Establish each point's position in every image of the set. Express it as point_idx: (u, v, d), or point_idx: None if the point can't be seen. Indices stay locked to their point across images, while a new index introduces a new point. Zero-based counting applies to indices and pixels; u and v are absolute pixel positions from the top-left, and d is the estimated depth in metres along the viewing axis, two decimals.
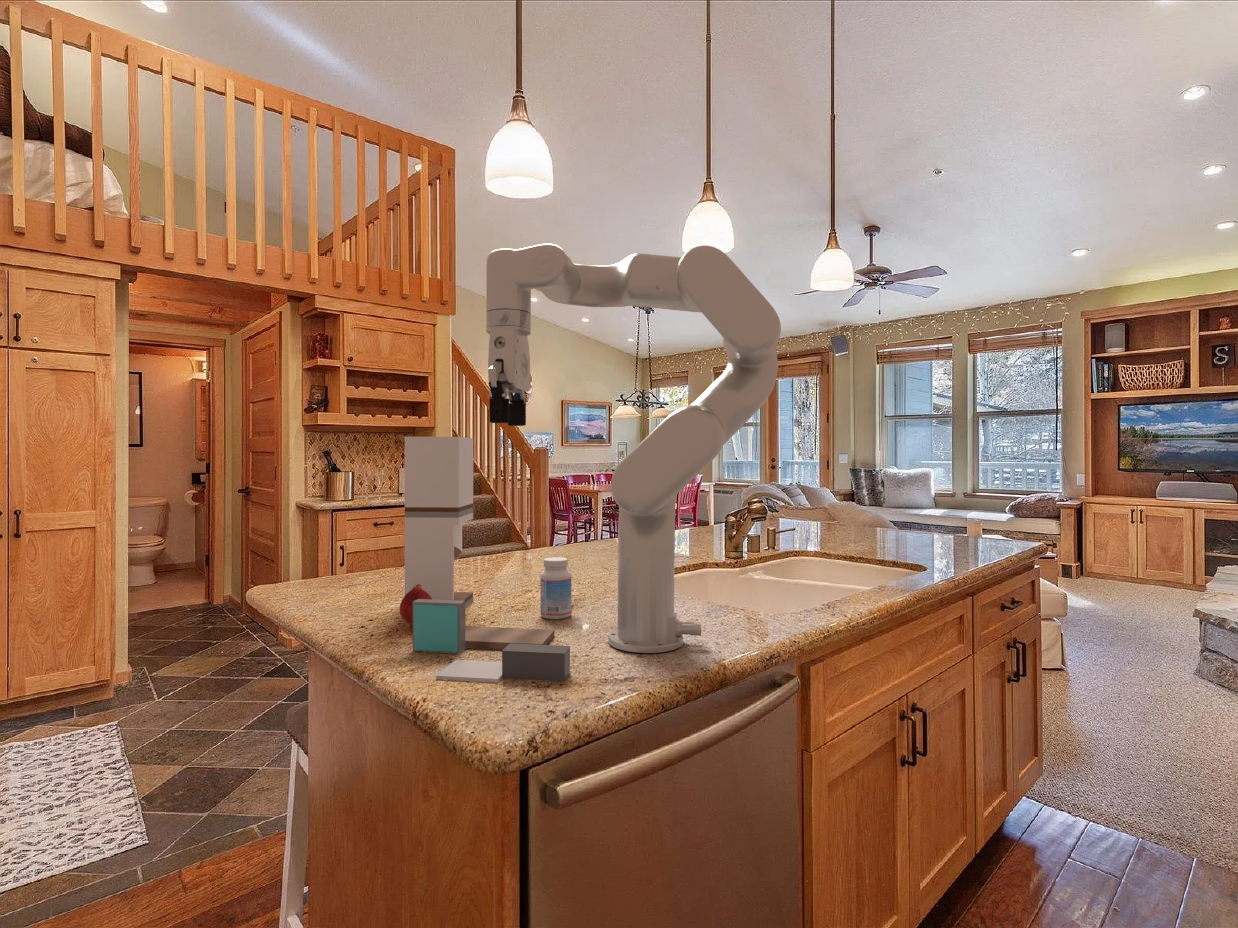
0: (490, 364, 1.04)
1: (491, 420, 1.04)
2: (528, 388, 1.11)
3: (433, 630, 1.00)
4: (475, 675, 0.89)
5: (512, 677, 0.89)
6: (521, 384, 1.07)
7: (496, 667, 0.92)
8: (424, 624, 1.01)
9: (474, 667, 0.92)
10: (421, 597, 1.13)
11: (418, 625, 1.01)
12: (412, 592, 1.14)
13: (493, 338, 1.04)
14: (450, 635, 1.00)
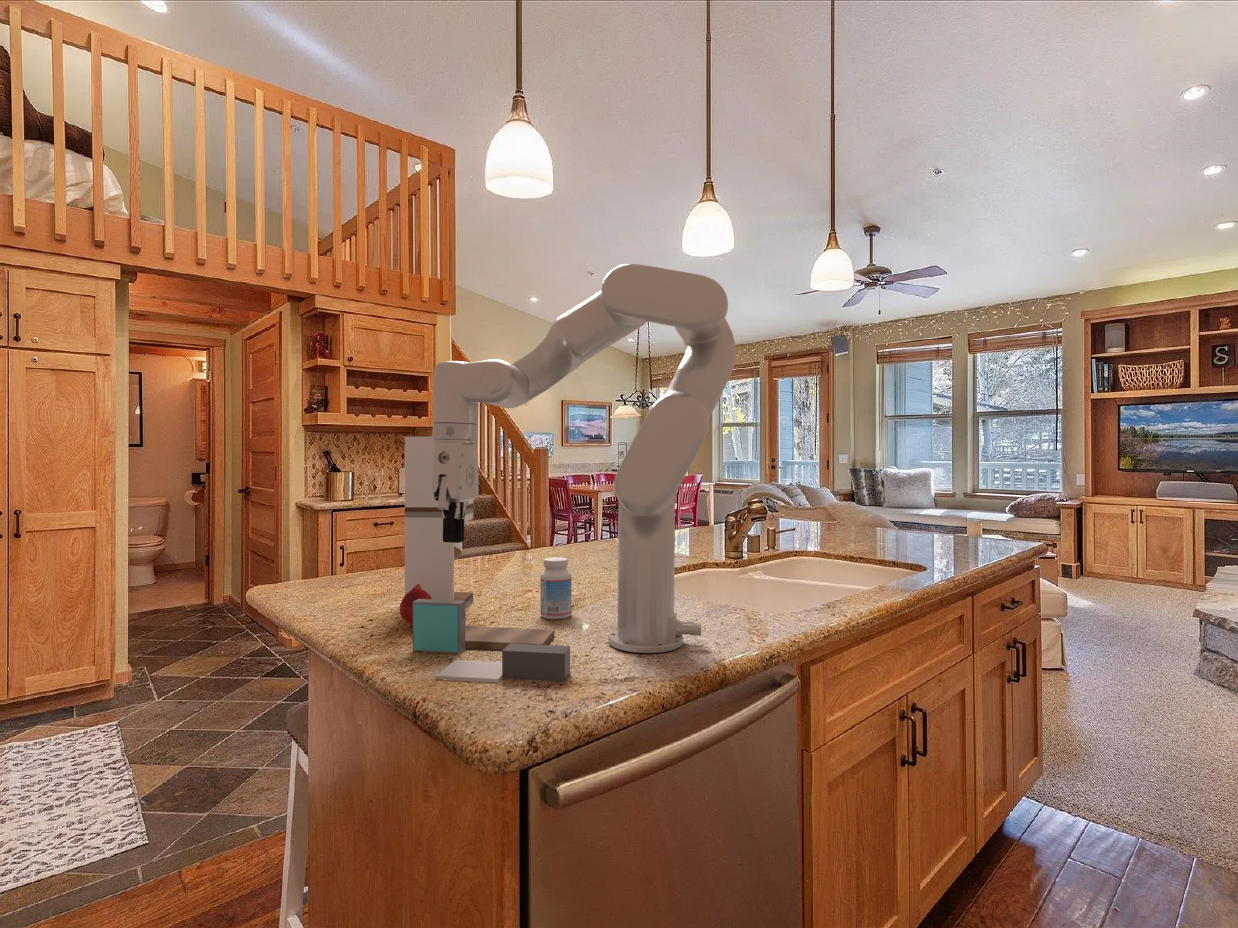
0: (434, 479, 1.04)
1: (444, 539, 1.08)
2: (475, 496, 1.11)
3: (433, 630, 1.00)
4: (475, 675, 0.89)
5: (512, 677, 0.89)
6: (466, 496, 1.06)
7: (496, 667, 0.92)
8: (424, 624, 1.01)
9: (474, 667, 0.92)
10: (421, 597, 1.13)
11: (418, 625, 1.01)
12: (412, 592, 1.14)
13: (437, 453, 1.04)
14: (450, 635, 1.00)
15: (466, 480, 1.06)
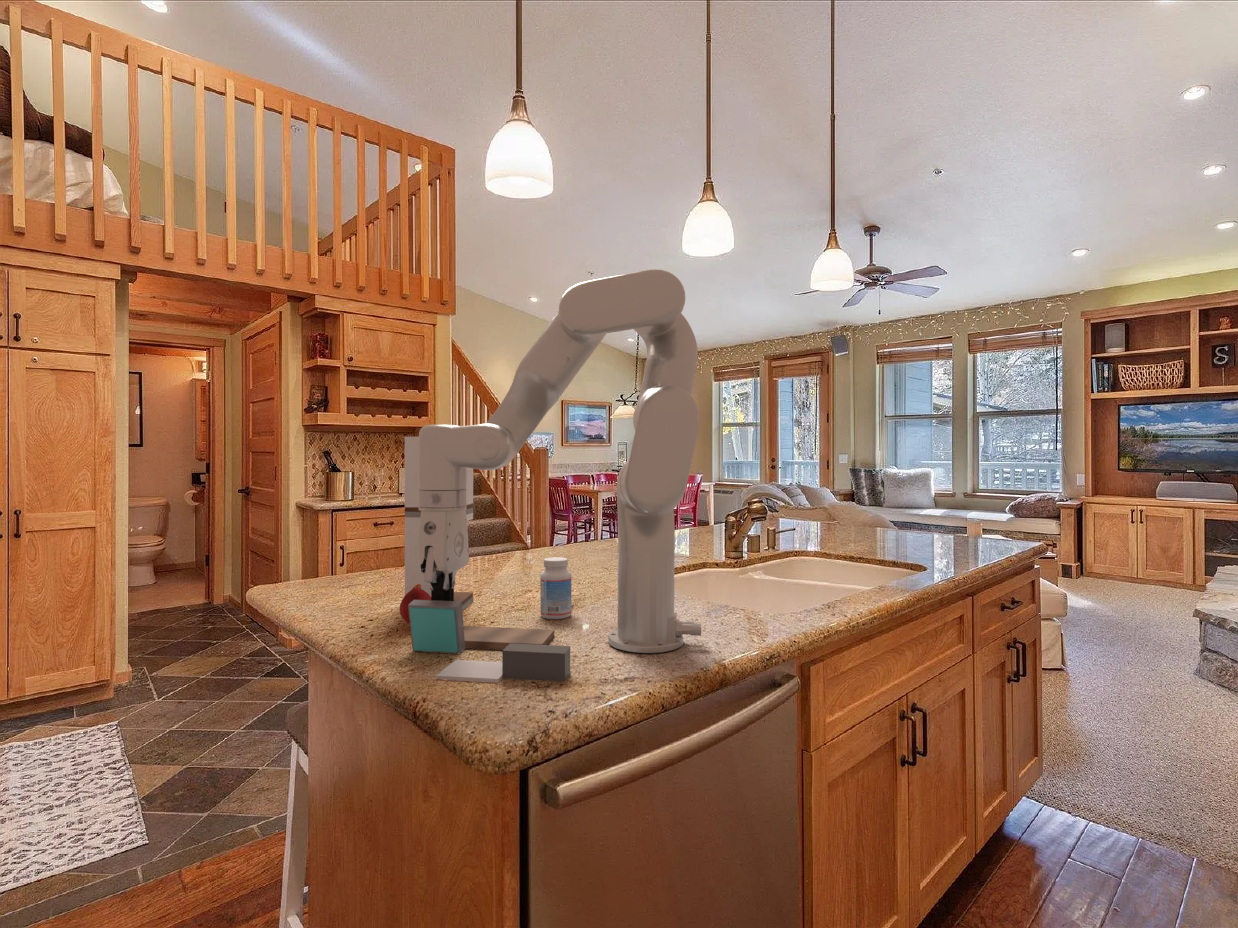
0: (420, 550, 0.98)
1: None
2: (465, 564, 1.05)
3: (431, 632, 1.00)
4: (475, 675, 0.89)
5: (512, 677, 0.89)
6: (455, 566, 1.01)
7: (496, 667, 0.92)
8: (422, 626, 1.00)
9: (474, 667, 0.92)
10: (421, 597, 1.13)
11: (416, 627, 1.00)
12: (412, 592, 1.14)
13: (423, 522, 0.99)
14: (449, 637, 0.99)
15: (454, 549, 1.01)
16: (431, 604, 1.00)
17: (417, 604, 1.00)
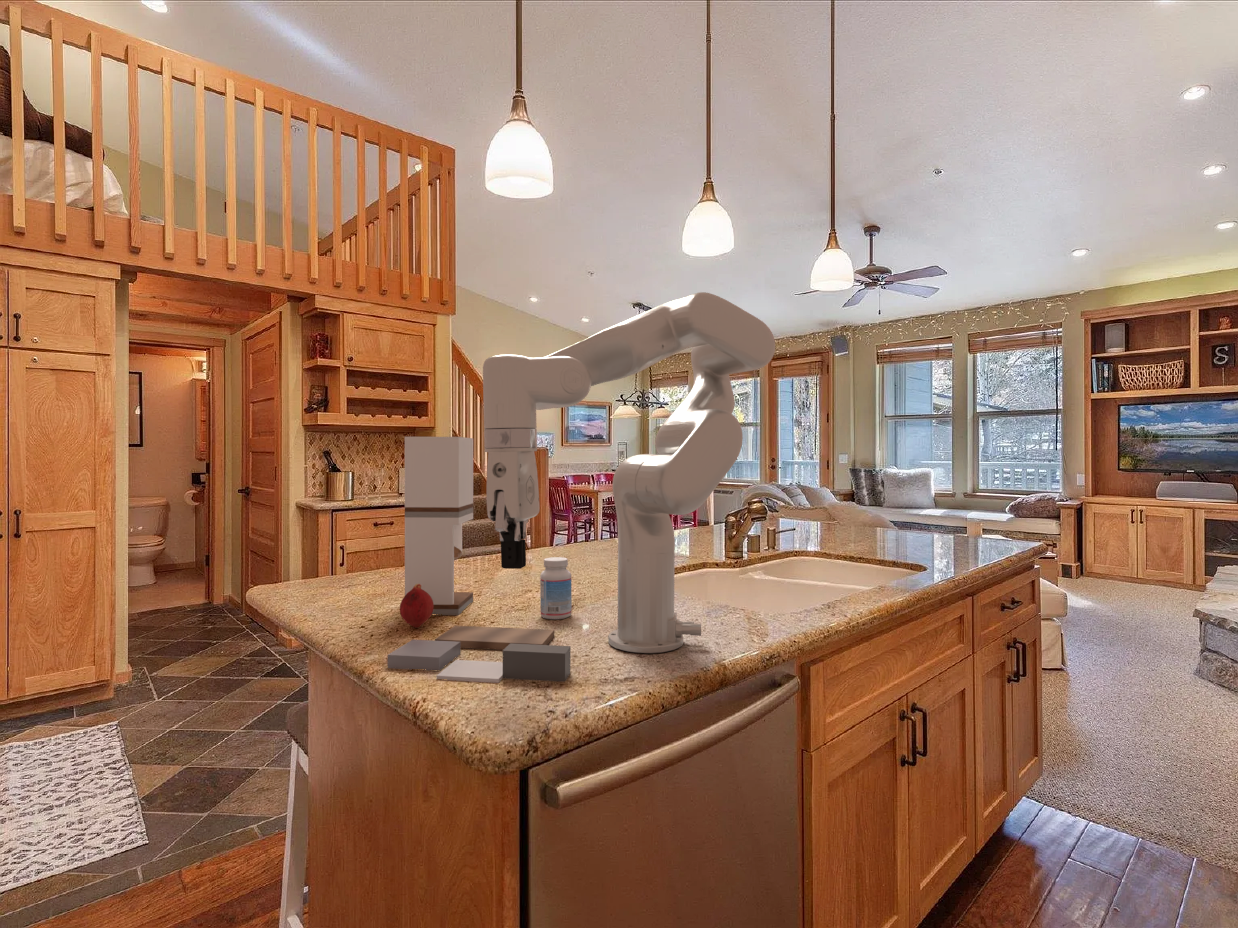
0: (489, 496, 0.88)
1: (503, 565, 0.92)
2: (536, 513, 0.94)
3: None
4: (475, 675, 0.89)
5: (512, 677, 0.89)
6: (527, 514, 0.90)
7: (496, 667, 0.92)
8: None
9: (475, 667, 0.92)
10: (421, 597, 1.13)
11: None
12: (412, 592, 1.14)
13: (491, 464, 0.88)
14: None
15: (526, 495, 0.90)
16: (410, 666, 0.93)
17: (396, 666, 0.93)
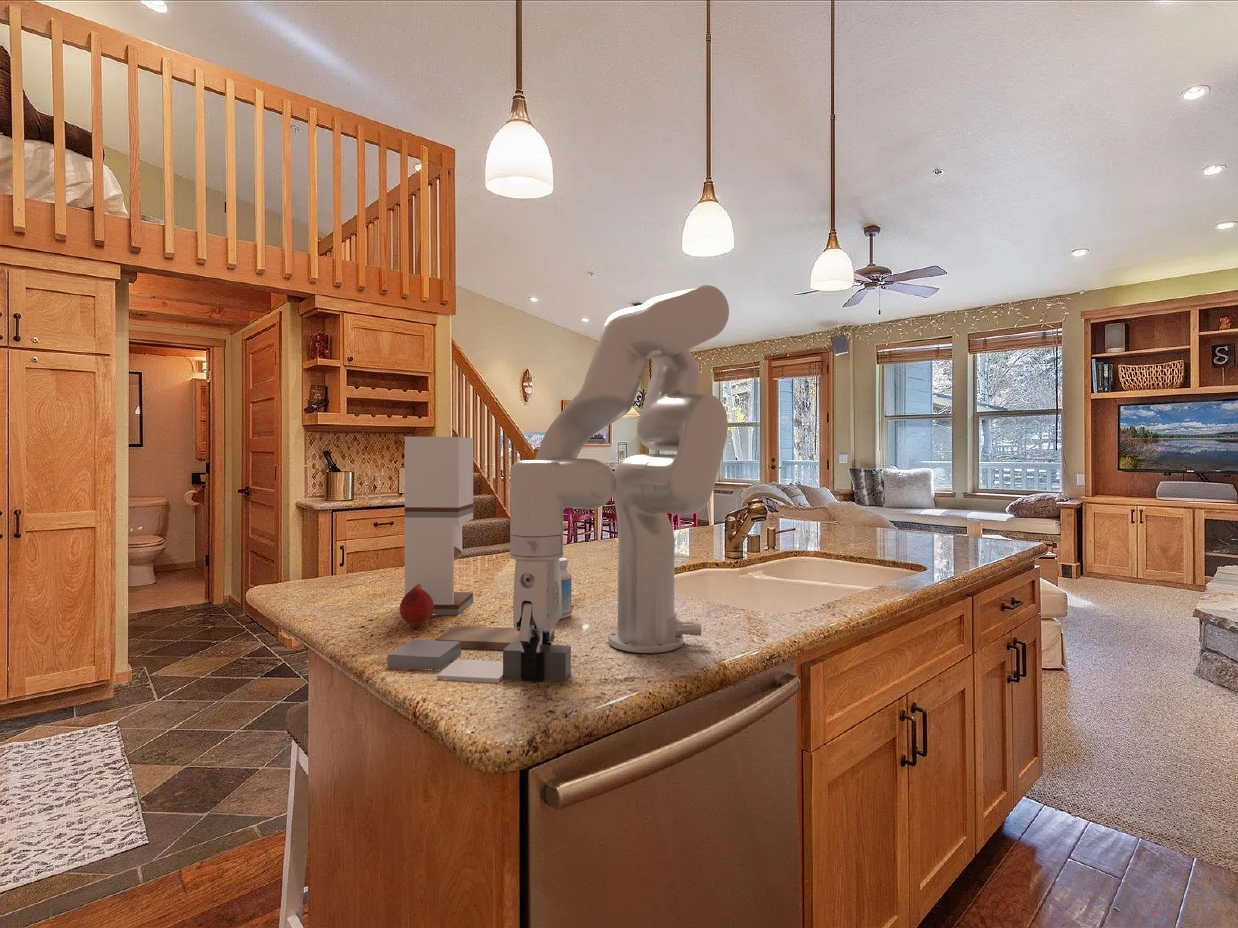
0: (516, 606, 0.85)
1: (523, 677, 0.88)
2: (559, 617, 0.92)
3: None
4: (476, 675, 0.89)
5: (512, 677, 0.89)
6: (553, 623, 0.88)
7: (497, 667, 0.92)
8: None
9: (475, 666, 0.92)
10: (421, 597, 1.13)
11: None
12: (412, 592, 1.14)
13: (519, 574, 0.86)
14: None
15: (552, 603, 0.88)
16: (410, 665, 0.93)
17: (396, 666, 0.93)
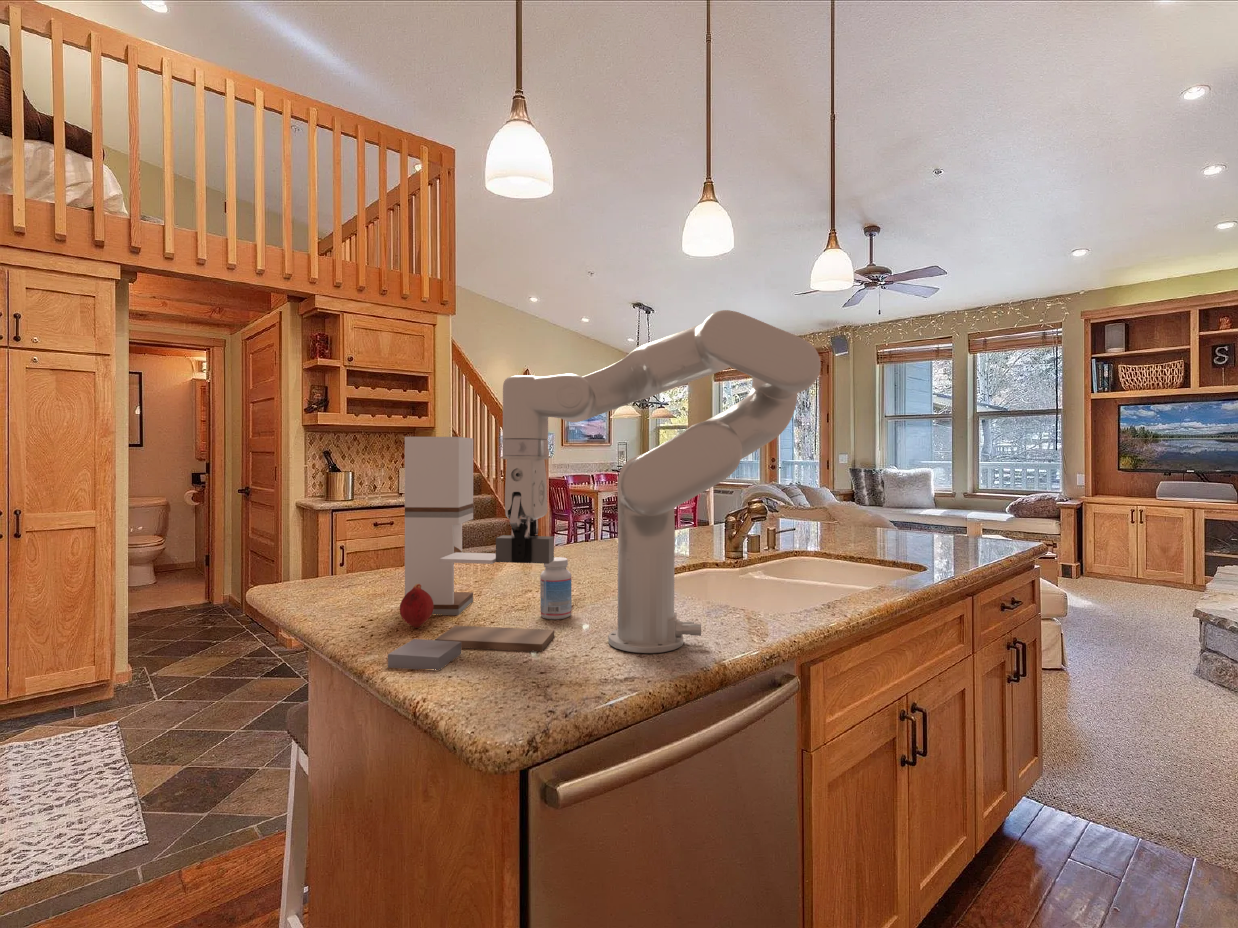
0: (507, 497, 1.01)
1: (513, 560, 1.04)
2: (545, 513, 1.08)
3: None
4: (472, 558, 1.04)
5: (504, 561, 1.04)
6: (539, 514, 1.04)
7: (491, 555, 1.08)
8: None
9: (472, 555, 1.08)
10: (421, 597, 1.13)
11: None
12: (412, 592, 1.14)
13: (510, 470, 1.01)
14: None
15: (538, 497, 1.04)
16: (411, 665, 0.93)
17: (396, 665, 0.93)
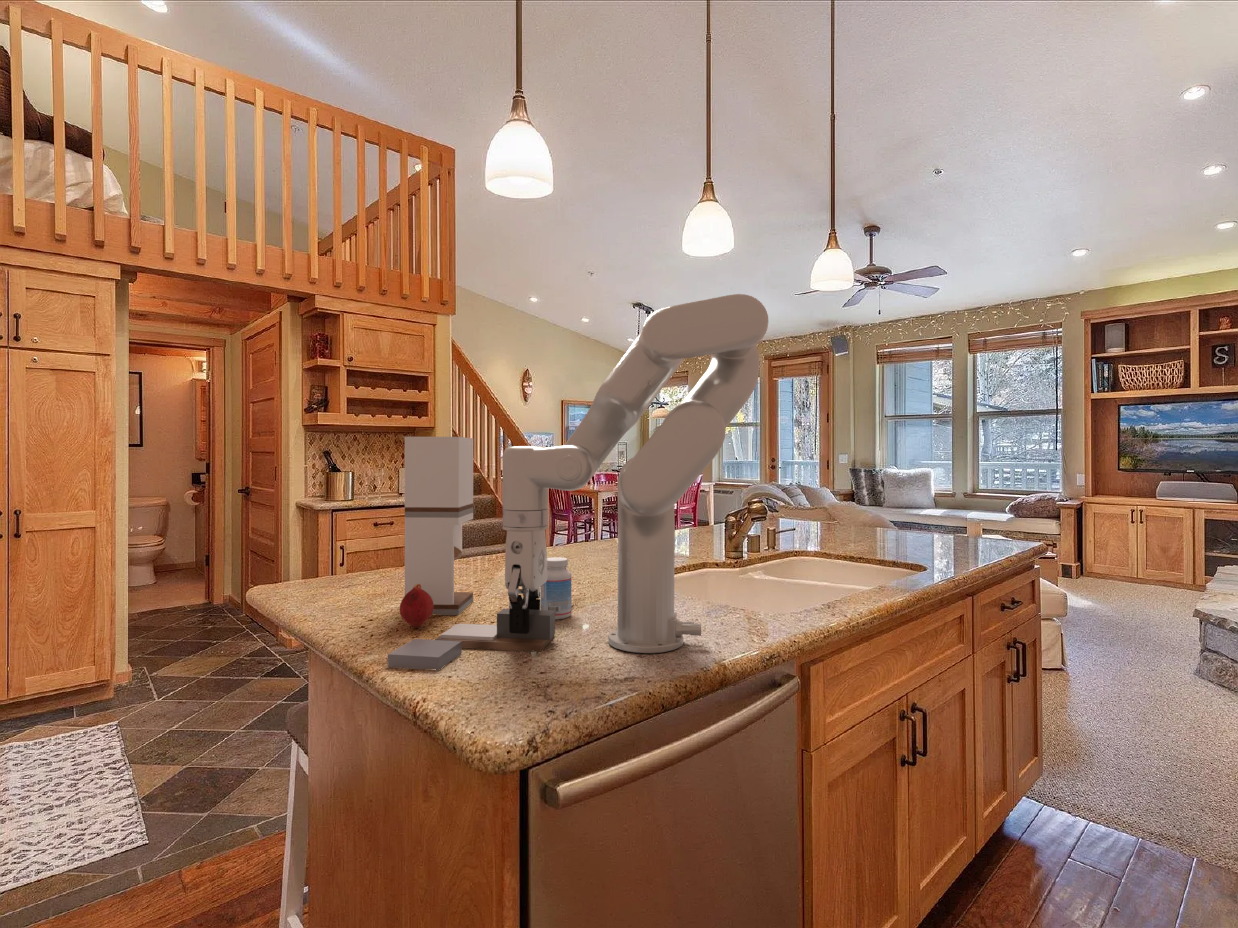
0: (507, 569, 1.01)
1: (511, 630, 1.03)
2: (545, 581, 1.08)
3: None
4: (474, 634, 1.04)
5: (505, 636, 1.05)
6: (539, 584, 1.04)
7: (492, 629, 1.08)
8: None
9: (473, 628, 1.08)
10: (421, 597, 1.13)
11: None
12: (412, 592, 1.14)
13: (510, 542, 1.01)
14: None
15: (538, 567, 1.04)
16: (410, 665, 0.93)
17: (396, 665, 0.93)
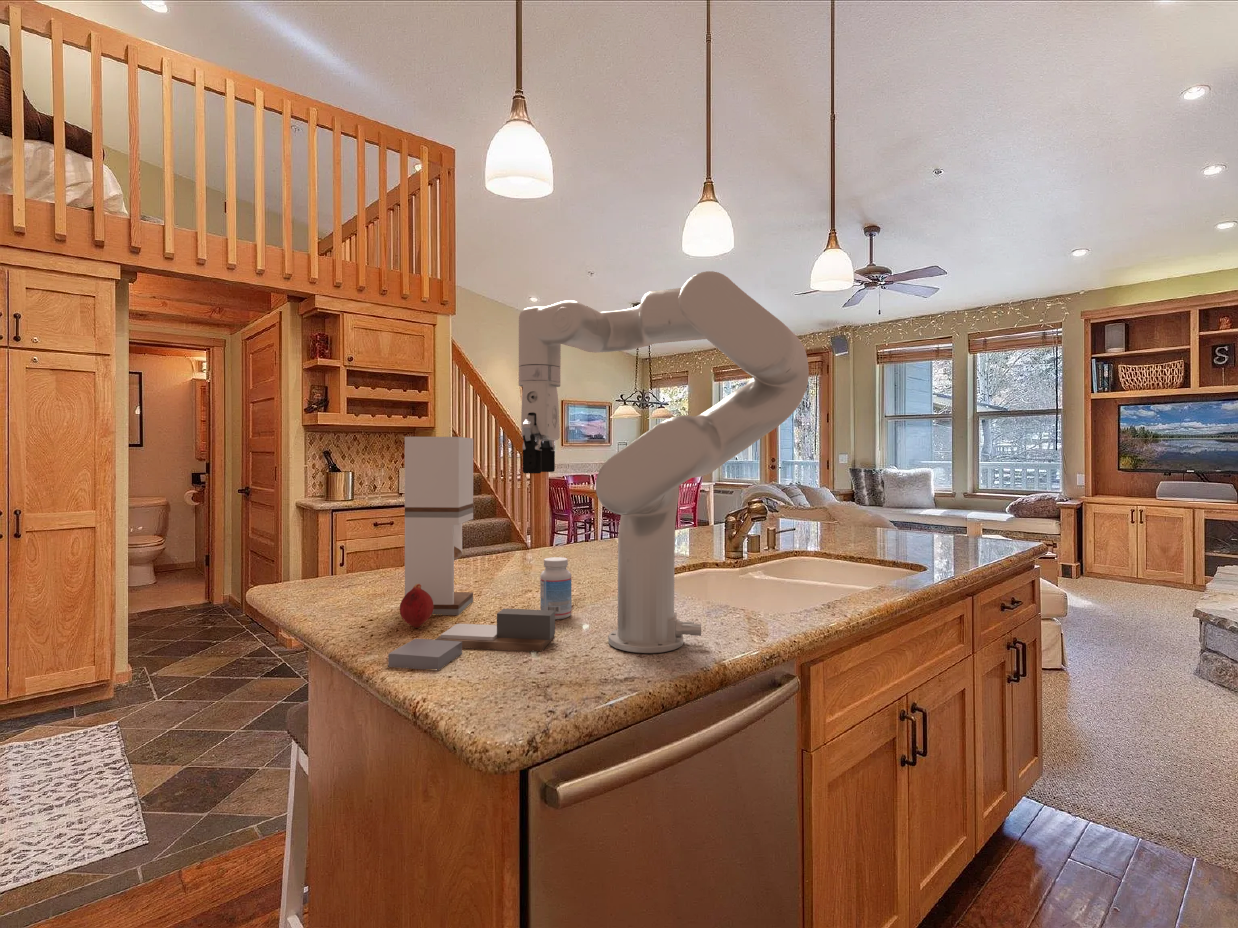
0: (523, 417, 1.10)
1: (524, 471, 1.10)
2: (557, 437, 1.17)
3: None
4: (474, 634, 1.04)
5: (505, 636, 1.05)
6: (552, 435, 1.13)
7: (492, 629, 1.08)
8: None
9: (473, 628, 1.08)
10: (421, 597, 1.13)
11: None
12: (412, 592, 1.14)
13: (526, 393, 1.10)
14: None
15: (552, 419, 1.12)
16: (411, 665, 0.93)
17: (397, 665, 0.94)
